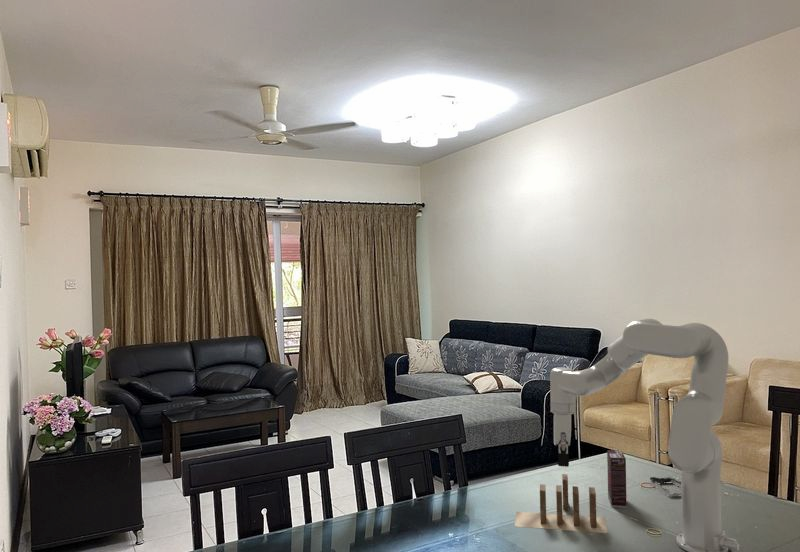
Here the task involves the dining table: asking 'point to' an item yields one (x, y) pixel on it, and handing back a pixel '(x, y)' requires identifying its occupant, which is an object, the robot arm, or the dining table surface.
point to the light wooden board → (551, 522)
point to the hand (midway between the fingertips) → (563, 461)
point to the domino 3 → (565, 491)
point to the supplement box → (616, 478)
